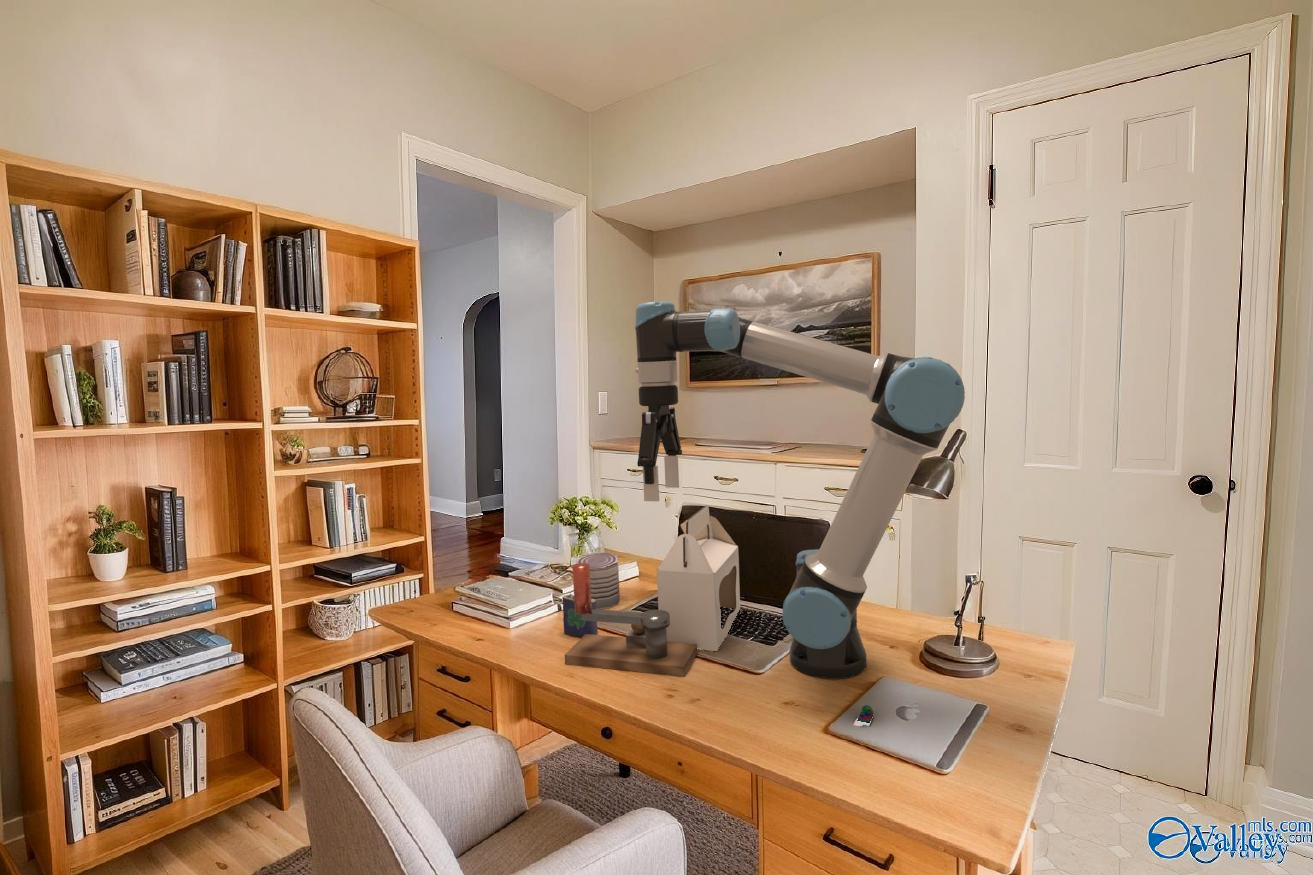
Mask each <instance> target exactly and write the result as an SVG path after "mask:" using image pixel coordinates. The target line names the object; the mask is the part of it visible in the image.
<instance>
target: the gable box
mask: <svg viewBox="0 0 1313 875" xmlns="http://www.w3.org/2000/svg"><path fill="white" fill-rule="evenodd" d="M679 527H680V530H681V531H682V533H683V534H680V535H679V536H677V538H676V540H675V541H674V543H672V545H671V547H670V549H669V550H668V552H667V554H666V555H665V557H664V558H663V560H662V562H661V563H660V565H659V567H657V569H656V582H657V606H658V609H657V610H664V611H667V612H668V613H669V614H670V625H669V626H668V627H667V628H666V632H667V641H669V642H680V643H691V644H697V648H701V649H702V648H703V649H710V650H718V648H719V647H720V645H721V643H722V642H723V641H724V642H725V640H724V638H725V637H726V636H727V637H728V635H729V634H728V632H729V630H730V628H731V625H732V623H733V621H734V619H735V618H736V616H737V613H738V612H739V610H740V611H741V595H740V594H741V593H740V590H741V588H740V562H739V561H740V557H739V546H738V545H737V544H736V542H735V541H734V540H733V538H732V537H731V536H730V535H729V533H728V532H727V530H726V529H725V528H724V526H723V525H722V523H721V522H720V520H719V519H718V518H717V517H715V516H714V515H713V516H712V515H710V508H709V505H704V506H703V507H702V508H701V509H699V510H697V511H696V512H695V513H694V514H692V515H691V516H690V517H689V518H687V519H686V520H685V521H684V522H682V523H681V524H680V525H679ZM720 607H727V608H735V609H734V611H733V612H732V613H730V614H729V615H728V617H727V619H726V621H725V624H724V626H723V628H721V609H720ZM729 633H730V632H729ZM727 634H728V635H727ZM727 637H726V638H727ZM724 642H723V643H724ZM723 643H722V644H723ZM721 646H722V645H721ZM720 648H721V647H720ZM720 648H719V649H720ZM718 651H719V650H718Z"/></svg>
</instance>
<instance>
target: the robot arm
mask: <svg viewBox="0 0 1313 875" xmlns="http://www.w3.org/2000/svg"><path fill="white" fill-rule="evenodd" d="M634 331H635V340H636V356H637V367H636V368H635V372H636V373H637V375H638V384H641V386H639V388H638V402H639V405H640V406H641V407H647V408H648V409H647V411H645V412H644V411H643V412H642V413H641V431H640V439H639V446H638V448H639V450H638V457H637V463H636V464H637V467H641V468H642V479H643V480H642V481H643V482H642V483H643V484H642V485H643V501H644V502H659V501H660V487H659V484H660V483H659V482H660V481H659V465H657V460H658V455H659V450H660V443H662V447H663V449H664V452H665V455H664V456H663V458H664V481H665V482H664V483H665V484H664V485H665V488H670V489H671V488H672V489H673V488H675V489H677V488H680V477H679V476H680V474H679V473H680V472H679V471H680V470H679V456H681V455H683V449H682V445H681V442H680V435H679V430H678V425H677V424H678V423H677V420H676V409H675V407H670V406H675V405H677V404H678V403H679V390H678V389H679V387H678V385H676V384H675V383H677V382H678V363H677V362H678V361H677V353H684V352H687V353H688V352H720V353H721V352H722V353H725V354H728V355H732V356H735V357H739V358H741V359H742V358H743V359H746V360H749V361H752V362H756V363H759V364H762V365H766V366H768V367H773V368H775V369H779V370H783V371H786V372H788V373H793V374H796V375H798V376H803V377H806V378H809V379H812V380H816V381H818V382H821V383H826V384H828V385H833V386H836V387H838V388H839V387H840V388H842V389H846V390H848V391H852V392H855V393H859V394H863V395H865V396H866V398H867V399H868V401H869V402H870V403H874V404H876V405H877V406H876V408H875V410H874V413H873V415H872V416H871V419H870V424H871V427H872V429H873V437H872V438H871V441H870V442H869V445H868V447H867V450H866V451H865V453H864V455H863V457H862V460H861V462H860V464H859V466H858V468H857V470H856V472H855V474H854V476H853V478H852V480H851V483H850V484H849V487H848V489H847V491H846V492H845V495H844V497H843V499H842V502H841V504H840V505H839V506H838V510H837V512H836V514H835V516H834V518H833V520H832V523H831V525H830V527H829V529H828V531H827V533H826V534H825V537H824V539H823V541H822V544H821V546H820V548H818V549H806V550H802V551H800V552H798V553H797V554H796V561H795V566H796V577H795V580H794V582H793V584H792V586H791V588H790V591H789V592H788V594H787V596H786V597H785V599H784V600H783V604H782V620H783V621H782V622H783V624H784V627H785V628H786V630H787V632H788V633H789V635H790V636H791V637H792V641H791V644H790V648H789V661H790V664H791V665H792V667H793V668H794V669H796V670H797V671H799V672H801V673H803V674H806V675H808V676H812V677H816V678H821V679H830V680H831V679H847V678H851V677H854V676H857V675H860V674H862V673H863V672H864V671H865V670H866V668H867V652H866V649H865V646H864V643H863V641H862V638H861V635H860V632H859V629H858V609H857V608H858V607H859V605H860V603H861V602H862V599H863V597H864V595H865V593H866V591H867V588H868V586H867V583H866V581H865V578H864V575H865V573H866V570H867V568H868V567H869V565H870V564H871V563H870V562H871V560H872V559H873V557H874V555H875V553H876V550H877V548H878V547H879V545H880V543H881V540H882V539H883V537H884V536H885V533H886V530H887V529H888V527H889V525H890V522H891V521H892V519H893V517H894V514H895V513H896V511H897V508H898V507H899V504H900V503H901V501H902V498H903V497H904V495H905V492H906V490H907V489H908V487H909V485H910V483H911V480H912V479H913V476H914V475H915V473H916V471H917V469H918V467H919V464H920V463H921V460H922V459H923V456H925V455H926V454H930V453H931V452H935V451H938V448H939V447H940V444H941V443H942V440H943V438H944V437H945V435H946V434H947V431H948V429H949V426H950V425H951V423H953V422H954V421H955V419H956V418H958V416H960V413H961V412H962V409H963V406H964V404H965V397H966V396H965V393H966V392H965V391H966V390H965V385H964V383H963V380H962V377H961V376H960V374H959V373H958V371H957V370H956V368H954V367H953V366H952V365H951V364H950V363H947V362H945V361H943V360H942V359H937V358H933V357H931V356H923V357H909V356H908V357H907V356H903V355H902V356H901V355H896V354H892V353H888V352H885V353H883V354H881V355H877V354H872V353H868V352H865V351H862V350H858V349H854V348H850V347H847V346H843V345H840V344H836V343H833V342H830V341H826V340H822V339H817V338H815V337H811V336H808V335H804V334H800V333H796V332H792V331H789V330H785V329H782V328H779V327H775V326H771V325H767V324H764V323H760V322H756V321H752V320H749V319H746V318H742V317H739V315H738V312H737V311H736V310H735V309H734V308H719V307H715V308H712V309H709V308H708V309H698V310H689V311H676V309H675V304H674V303H673V302H671V301H649V302H643V303H640V304H638V305H637V306H636V308H635V325H634Z"/></svg>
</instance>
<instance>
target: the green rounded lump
mask: <svg viewBox="0 0 1313 875" xmlns="http://www.w3.org/2000/svg"><path fill="white" fill-rule="evenodd" d="M873 714H874V709H873V707H872V706H871V705H869V704H866V705H863V706H862V708H861V710H860V713H859V714H858V716H859V717H858V716H857V717H858V720H857V721H861V722H866V723H870V721H871V719H872V717H873ZM874 715H875V714H874Z"/></svg>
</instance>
